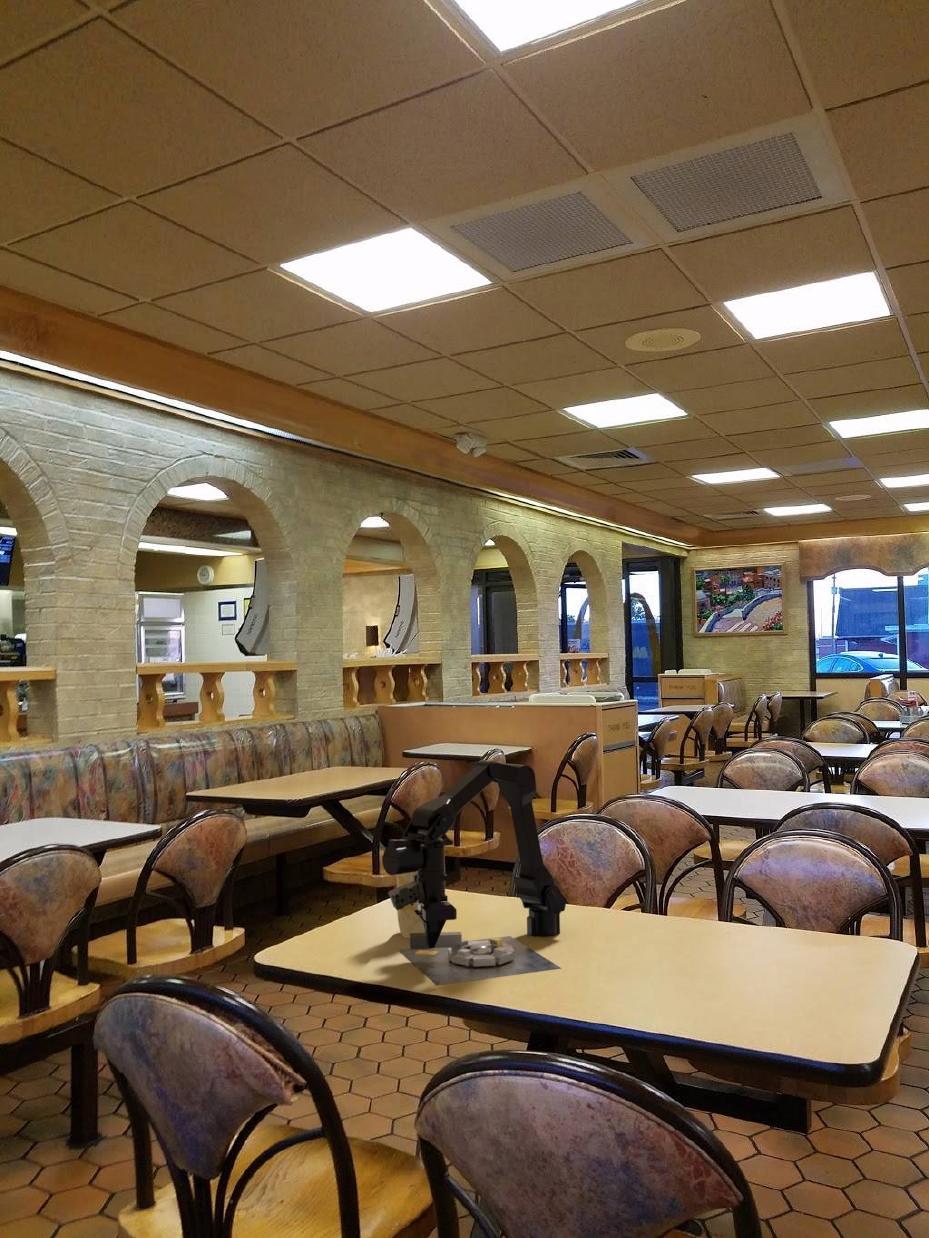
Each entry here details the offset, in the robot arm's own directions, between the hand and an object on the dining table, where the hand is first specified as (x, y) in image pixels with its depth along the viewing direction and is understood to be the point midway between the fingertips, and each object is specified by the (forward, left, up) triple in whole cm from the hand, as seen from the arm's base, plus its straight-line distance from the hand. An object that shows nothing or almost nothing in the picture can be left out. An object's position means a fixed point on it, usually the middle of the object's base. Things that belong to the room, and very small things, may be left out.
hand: (431, 947), depth 197 cm
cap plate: (-10, 0, -4) cm, 10 cm away
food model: (-4, -23, -4) cm, 23 cm away
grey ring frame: (-7, -1, -3) cm, 7 cm away
